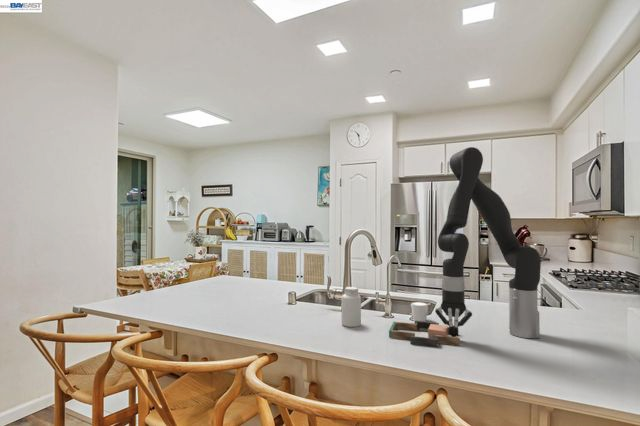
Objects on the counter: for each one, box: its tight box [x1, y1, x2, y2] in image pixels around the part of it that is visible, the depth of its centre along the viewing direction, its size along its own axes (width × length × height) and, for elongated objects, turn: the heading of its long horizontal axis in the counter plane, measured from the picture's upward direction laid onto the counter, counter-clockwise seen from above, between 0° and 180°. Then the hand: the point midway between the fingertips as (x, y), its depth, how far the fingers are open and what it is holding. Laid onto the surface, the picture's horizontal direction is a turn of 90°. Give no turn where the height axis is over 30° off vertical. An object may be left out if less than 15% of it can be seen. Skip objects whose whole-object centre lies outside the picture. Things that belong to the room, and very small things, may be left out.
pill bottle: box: [341, 286, 362, 328], centre depth 142 cm, size 8×8×15 cm
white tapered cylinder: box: [410, 301, 429, 322], centre depth 148 cm, size 7×7×7 cm
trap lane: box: [388, 321, 461, 348], centre depth 127 cm, size 24×20×2 cm
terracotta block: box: [427, 324, 449, 339], centre depth 126 cm, size 6×7×4 cm
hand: (453, 336), depth 124 cm, fingers closed
